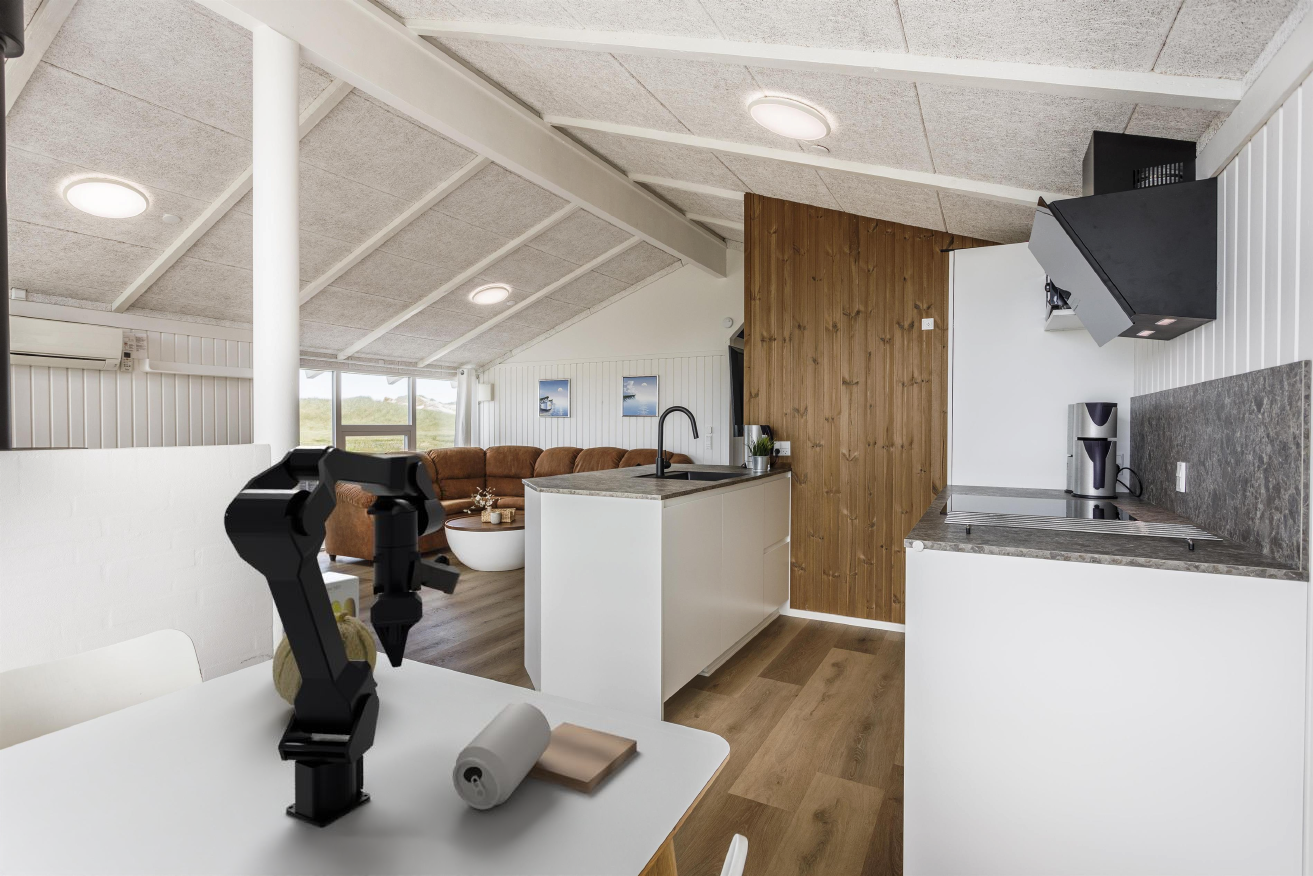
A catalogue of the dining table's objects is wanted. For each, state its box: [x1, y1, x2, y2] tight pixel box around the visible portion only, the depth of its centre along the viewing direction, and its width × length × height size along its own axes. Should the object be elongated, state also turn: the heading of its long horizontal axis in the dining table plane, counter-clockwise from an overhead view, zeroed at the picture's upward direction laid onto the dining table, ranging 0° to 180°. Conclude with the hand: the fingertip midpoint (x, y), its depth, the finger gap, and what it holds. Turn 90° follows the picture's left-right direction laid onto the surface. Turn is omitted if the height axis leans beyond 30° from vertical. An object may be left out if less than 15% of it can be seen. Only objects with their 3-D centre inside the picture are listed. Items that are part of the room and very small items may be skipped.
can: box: [452, 701, 552, 810], centre depth 80 cm, size 8×8×12 cm
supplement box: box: [282, 571, 360, 638], centre depth 119 cm, size 10×9×17 cm
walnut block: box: [526, 722, 638, 794], centre depth 87 cm, size 12×12×2 cm
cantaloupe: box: [272, 611, 378, 707], centre depth 103 cm, size 15×15×15 cm
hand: (396, 655), depth 92 cm, fingers open, 9 cm apart
